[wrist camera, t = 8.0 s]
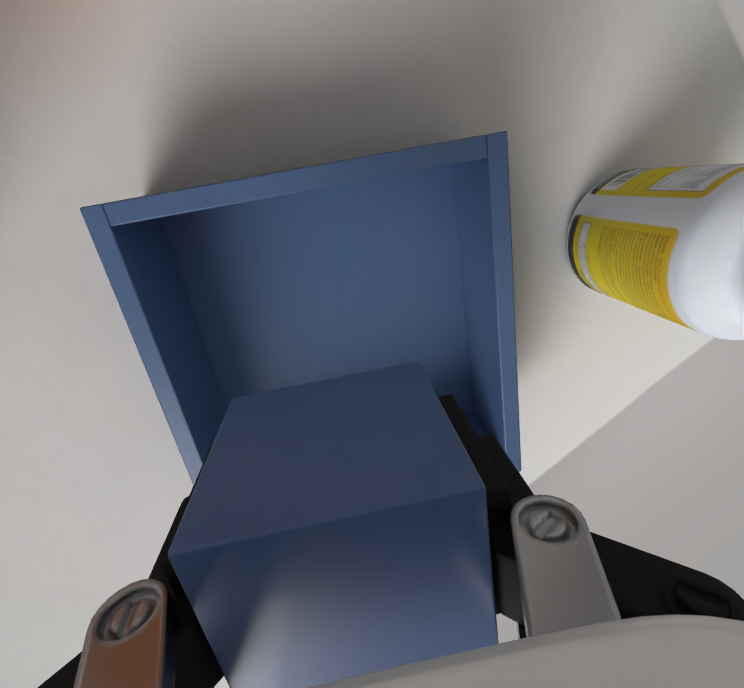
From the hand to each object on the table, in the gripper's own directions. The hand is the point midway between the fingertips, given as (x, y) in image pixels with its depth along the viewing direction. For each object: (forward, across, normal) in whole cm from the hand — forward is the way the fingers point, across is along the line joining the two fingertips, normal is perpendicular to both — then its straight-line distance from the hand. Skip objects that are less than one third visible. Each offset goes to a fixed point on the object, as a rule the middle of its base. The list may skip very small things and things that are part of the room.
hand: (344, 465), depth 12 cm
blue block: (0, 0, 0) cm, 0 cm away
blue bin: (+13, 0, 0) cm, 13 cm away
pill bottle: (+13, -16, -2) cm, 21 cm away
